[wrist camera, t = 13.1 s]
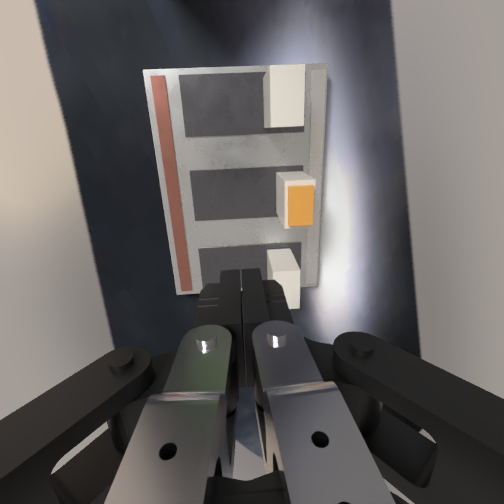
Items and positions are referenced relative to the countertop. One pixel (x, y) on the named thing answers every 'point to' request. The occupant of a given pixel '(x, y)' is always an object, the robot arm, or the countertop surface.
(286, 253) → the breaker far
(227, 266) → the panel
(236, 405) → the robot arm
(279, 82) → the block
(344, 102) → the countertop surface
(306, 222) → the block
